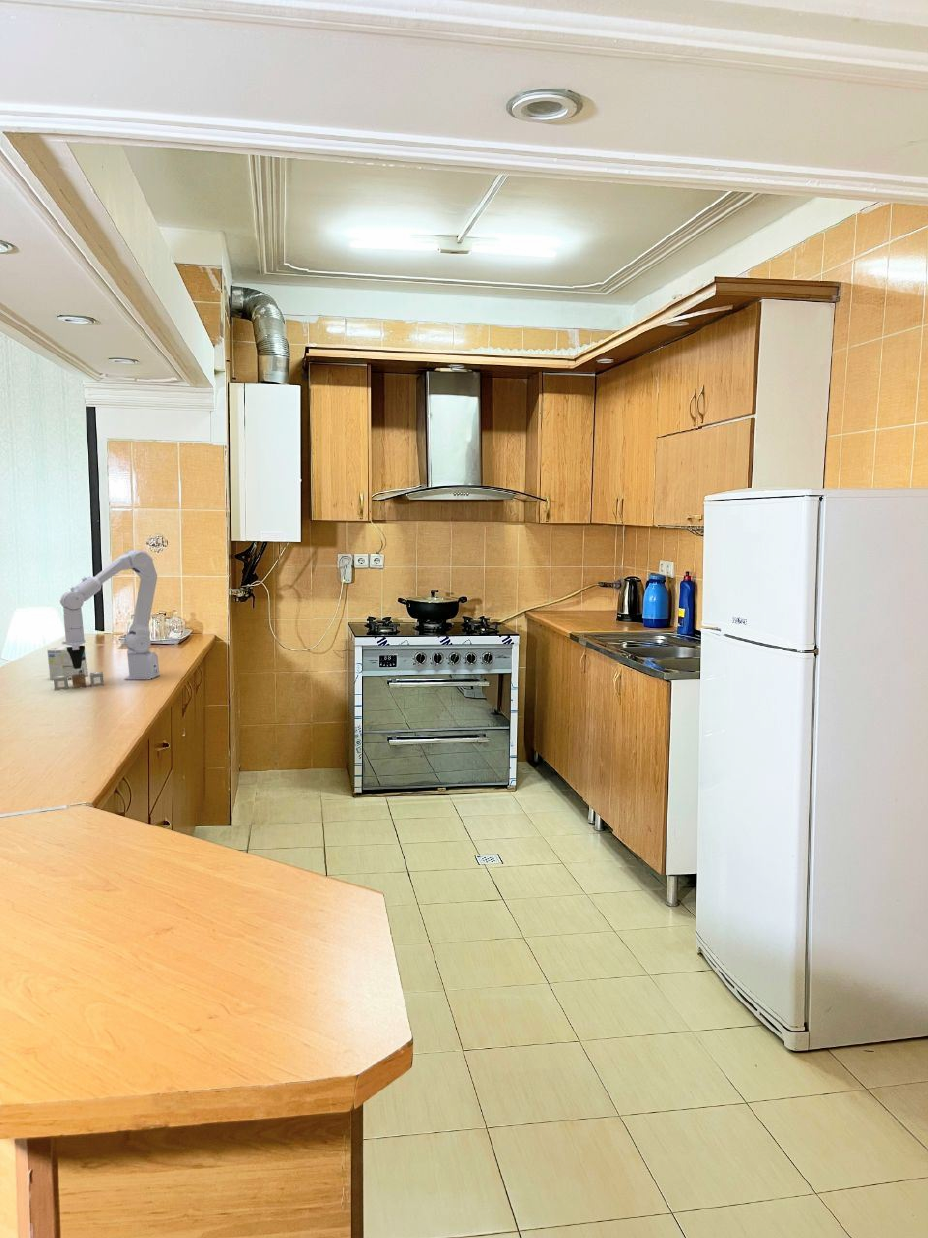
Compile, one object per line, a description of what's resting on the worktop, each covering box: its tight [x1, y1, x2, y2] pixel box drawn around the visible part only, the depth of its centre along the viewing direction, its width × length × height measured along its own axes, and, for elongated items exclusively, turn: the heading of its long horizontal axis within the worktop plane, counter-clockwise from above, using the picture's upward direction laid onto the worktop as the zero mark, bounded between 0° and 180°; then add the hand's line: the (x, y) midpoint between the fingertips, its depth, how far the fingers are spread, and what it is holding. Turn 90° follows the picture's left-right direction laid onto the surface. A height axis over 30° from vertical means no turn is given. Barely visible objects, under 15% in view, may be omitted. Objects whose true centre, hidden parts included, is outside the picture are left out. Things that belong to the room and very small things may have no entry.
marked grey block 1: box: [53, 675, 69, 691], centre depth 293 cm, size 4×4×4 cm
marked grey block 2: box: [89, 671, 105, 687], centre depth 298 cm, size 4×4×4 cm
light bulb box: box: [47, 646, 89, 680], centre depth 312 cm, size 11×7×11 cm, turn 84°
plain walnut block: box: [71, 674, 87, 689], centre depth 296 cm, size 4×4×4 cm
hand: (77, 668), depth 295 cm, fingers closed
